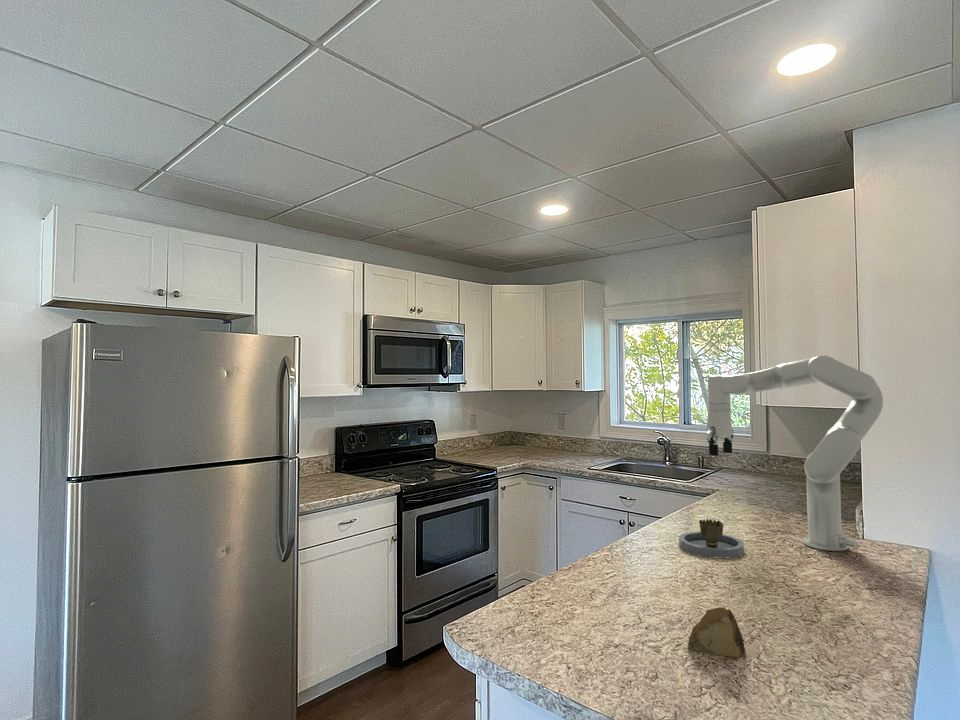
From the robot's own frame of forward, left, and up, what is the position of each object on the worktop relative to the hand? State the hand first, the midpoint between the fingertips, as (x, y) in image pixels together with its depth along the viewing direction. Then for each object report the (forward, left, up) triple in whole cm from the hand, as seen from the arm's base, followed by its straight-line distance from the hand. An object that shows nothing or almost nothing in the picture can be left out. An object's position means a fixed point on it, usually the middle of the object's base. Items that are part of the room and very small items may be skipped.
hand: (720, 454), depth 195 cm
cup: (-8, +22, -28) cm, 36 cm away
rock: (-44, +83, -29) cm, 98 cm away
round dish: (-8, +22, -28) cm, 37 cm away
